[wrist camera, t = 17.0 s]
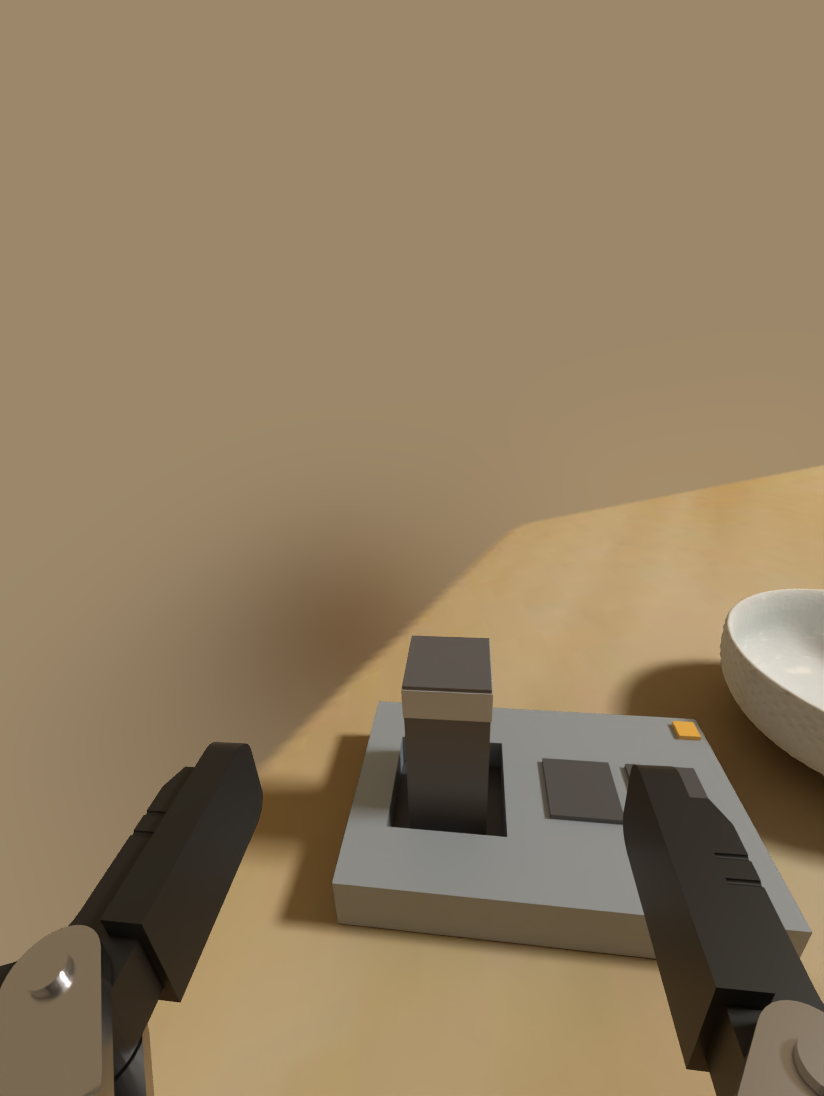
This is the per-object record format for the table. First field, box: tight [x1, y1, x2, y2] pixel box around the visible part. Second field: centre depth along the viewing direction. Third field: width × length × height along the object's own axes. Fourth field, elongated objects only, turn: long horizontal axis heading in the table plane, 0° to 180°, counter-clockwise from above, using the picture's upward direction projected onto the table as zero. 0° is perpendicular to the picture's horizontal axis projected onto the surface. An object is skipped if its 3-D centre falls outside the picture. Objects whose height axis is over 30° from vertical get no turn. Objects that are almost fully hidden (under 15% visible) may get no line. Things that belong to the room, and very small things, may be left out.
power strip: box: [332, 701, 812, 959], centre depth 27 cm, size 20×12×3 cm, turn 83°
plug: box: [401, 636, 493, 835], centre depth 26 cm, size 4×4×10 cm
